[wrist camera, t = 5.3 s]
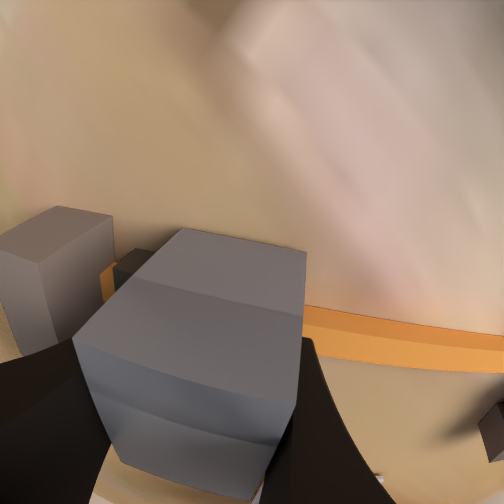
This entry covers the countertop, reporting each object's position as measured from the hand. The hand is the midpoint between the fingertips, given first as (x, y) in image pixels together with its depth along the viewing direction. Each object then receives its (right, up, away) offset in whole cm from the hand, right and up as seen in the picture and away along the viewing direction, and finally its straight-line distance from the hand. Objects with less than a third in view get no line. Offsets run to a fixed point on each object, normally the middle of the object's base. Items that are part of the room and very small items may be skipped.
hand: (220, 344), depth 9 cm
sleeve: (0, +1, +2) cm, 2 cm away
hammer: (+5, 0, +1) cm, 5 cm away
